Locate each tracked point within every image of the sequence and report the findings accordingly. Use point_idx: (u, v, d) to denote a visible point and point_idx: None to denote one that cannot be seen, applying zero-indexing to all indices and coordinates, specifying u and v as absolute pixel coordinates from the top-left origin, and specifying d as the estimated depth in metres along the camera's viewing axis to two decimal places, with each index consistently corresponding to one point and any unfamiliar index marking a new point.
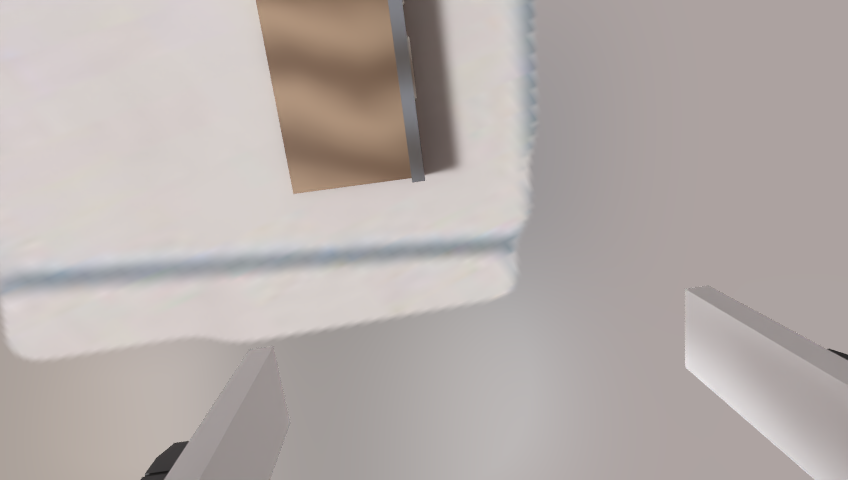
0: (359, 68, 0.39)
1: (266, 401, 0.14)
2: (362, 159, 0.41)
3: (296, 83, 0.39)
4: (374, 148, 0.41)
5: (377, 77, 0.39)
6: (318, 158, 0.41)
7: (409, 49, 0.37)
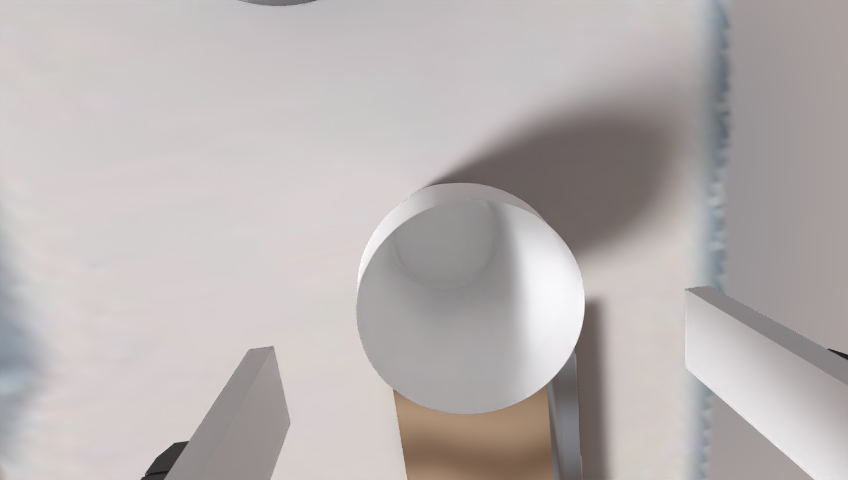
0: (508, 458, 0.34)
1: (266, 401, 0.14)
2: None
3: (435, 475, 0.34)
4: None
5: (529, 466, 0.34)
6: None
7: (580, 468, 0.31)
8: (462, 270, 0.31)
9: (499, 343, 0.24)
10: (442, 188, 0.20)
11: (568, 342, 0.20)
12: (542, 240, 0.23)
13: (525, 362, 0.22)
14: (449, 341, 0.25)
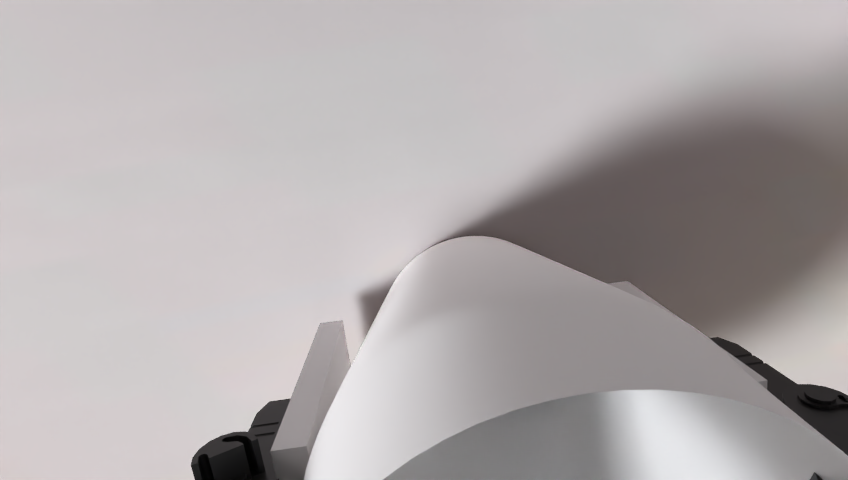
0: None
1: (341, 368, 0.15)
2: None
3: None
4: None
5: None
6: None
7: None
8: None
9: None
10: (506, 306, 0.08)
11: None
12: None
13: None
14: None
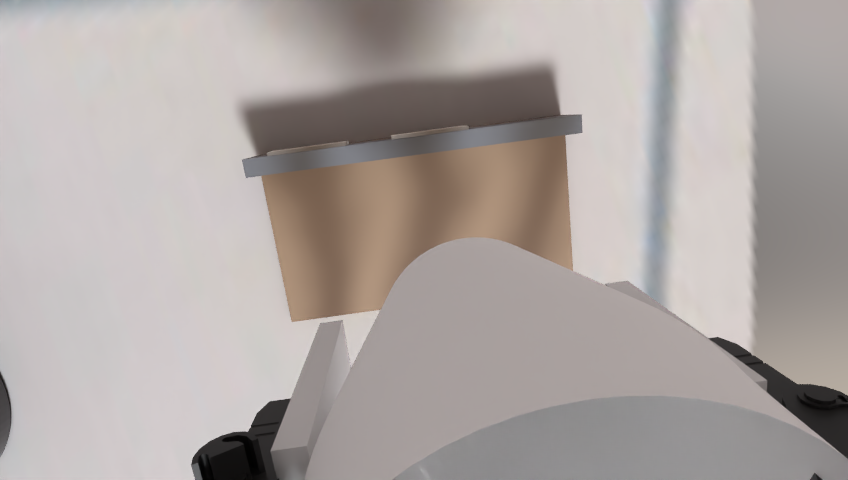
0: (425, 198, 0.31)
1: (342, 368, 0.15)
2: (537, 196, 0.32)
3: None
4: (523, 180, 0.31)
5: (435, 175, 0.31)
6: (532, 251, 0.32)
7: (407, 135, 0.28)
8: None
9: None
10: (506, 310, 0.08)
11: None
12: None
13: None
14: None
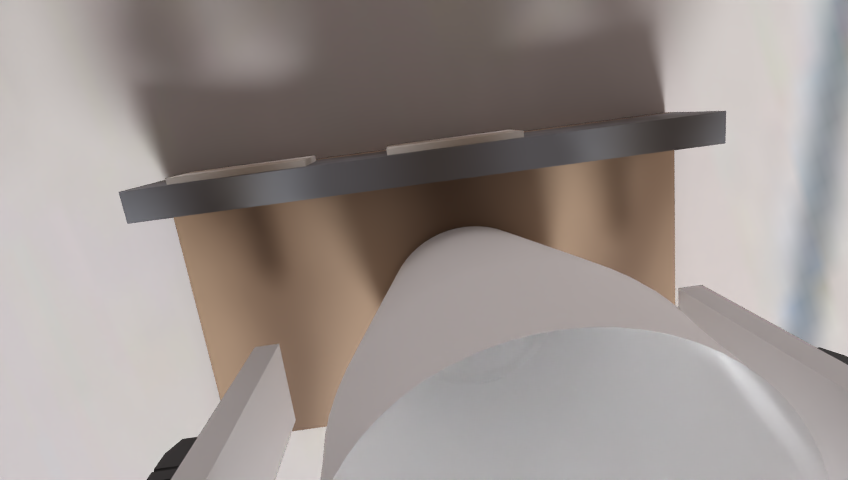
0: None
1: (272, 398, 0.14)
2: (624, 243, 0.19)
3: None
4: (603, 219, 0.19)
5: (460, 211, 0.19)
6: None
7: (415, 148, 0.16)
8: (498, 354, 0.20)
9: None
10: (499, 273, 0.09)
11: None
12: (666, 347, 0.13)
13: None
14: None
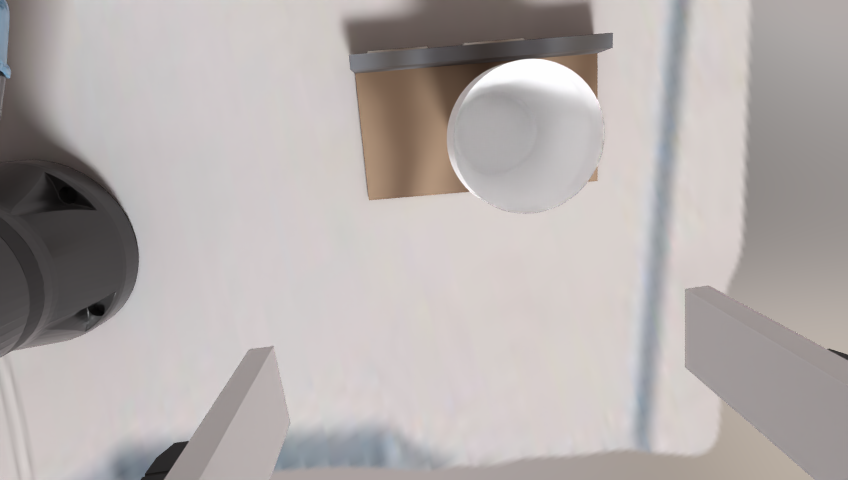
0: None
1: (266, 401, 0.14)
2: None
3: None
4: None
5: None
6: None
7: (476, 43, 0.36)
8: (506, 161, 0.40)
9: (538, 192, 0.34)
10: None
11: (591, 169, 0.29)
12: (574, 115, 0.33)
13: (558, 195, 0.31)
14: (501, 194, 0.35)
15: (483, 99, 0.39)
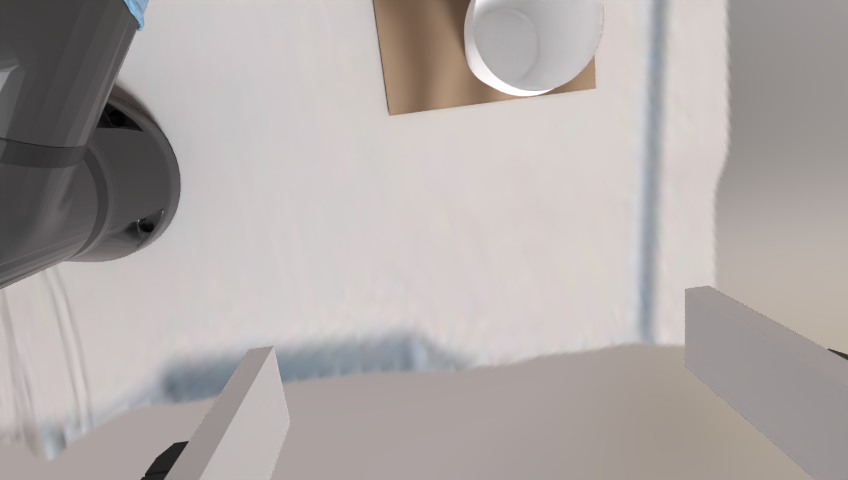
0: None
1: (266, 401, 0.14)
2: None
3: None
4: None
5: None
6: None
7: None
8: (513, 73, 0.44)
9: (545, 86, 0.38)
10: None
11: (593, 50, 0.33)
12: (574, 13, 0.37)
13: (565, 81, 0.36)
14: None
15: (490, 15, 0.43)
